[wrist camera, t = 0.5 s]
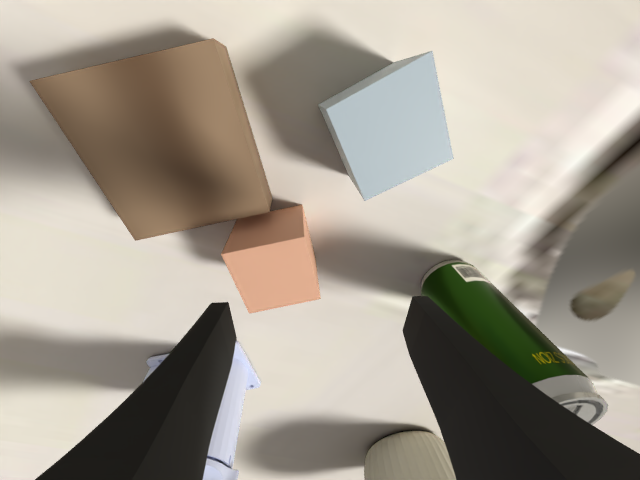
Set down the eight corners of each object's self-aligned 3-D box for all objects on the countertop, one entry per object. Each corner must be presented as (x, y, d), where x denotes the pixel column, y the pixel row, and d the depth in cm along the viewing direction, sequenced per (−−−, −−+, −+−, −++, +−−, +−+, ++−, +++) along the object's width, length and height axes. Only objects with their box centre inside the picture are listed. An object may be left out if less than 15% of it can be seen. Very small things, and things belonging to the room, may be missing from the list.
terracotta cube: (258, 269, 22) (249, 313, 17) (237, 218, 19) (221, 254, 15) (315, 257, 22) (320, 298, 17) (302, 204, 19) (304, 236, 15)
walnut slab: (153, 223, 19) (135, 240, 17) (69, 82, 14) (29, 80, 12) (272, 198, 19) (269, 212, 16) (226, 46, 14) (213, 38, 12)
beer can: (423, 258, 23) (532, 400, 12) (481, 255, 23) (635, 389, 13) (413, 303, 25) (495, 450, 15) (465, 299, 26) (580, 440, 15)
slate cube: (348, 175, 18) (364, 200, 14) (317, 104, 16) (326, 109, 12) (414, 142, 18) (453, 158, 13) (393, 62, 15) (432, 50, 11)
